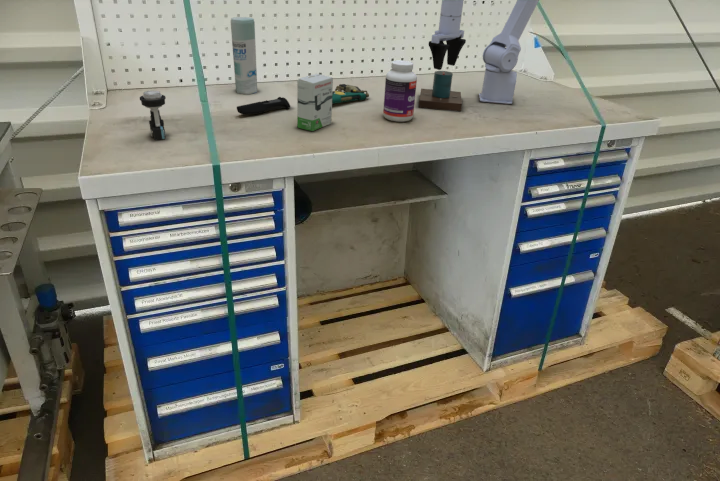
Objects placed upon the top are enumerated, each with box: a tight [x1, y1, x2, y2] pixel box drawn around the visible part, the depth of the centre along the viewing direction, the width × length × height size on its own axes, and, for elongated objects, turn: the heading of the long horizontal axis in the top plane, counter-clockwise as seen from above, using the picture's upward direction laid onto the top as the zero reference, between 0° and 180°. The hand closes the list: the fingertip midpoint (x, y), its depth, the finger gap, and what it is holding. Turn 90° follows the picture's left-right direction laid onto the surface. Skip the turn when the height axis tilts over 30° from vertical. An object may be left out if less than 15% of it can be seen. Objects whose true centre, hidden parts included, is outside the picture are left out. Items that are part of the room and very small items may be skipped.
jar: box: [431, 70, 454, 98], centre depth 151 cm, size 5×5×7 cm
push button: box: [139, 90, 167, 141], centre depth 118 cm, size 7×5×10 cm
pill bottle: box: [382, 59, 418, 123], centre depth 136 cm, size 8×8×14 cm
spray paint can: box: [230, 16, 258, 95], centre depth 150 cm, size 6×6×20 cm
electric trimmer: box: [236, 96, 291, 116], centre depth 138 cm, size 4×16×3 cm, turn 133°
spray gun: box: [332, 83, 370, 105], centre depth 152 cm, size 4×17×15 cm
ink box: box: [296, 73, 334, 132], centre depth 129 cm, size 9×5×12 cm, turn 148°
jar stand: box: [418, 88, 463, 112], centre depth 154 cm, size 13×12×2 cm
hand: (444, 67), depth 149 cm, fingers open, 7 cm apart
